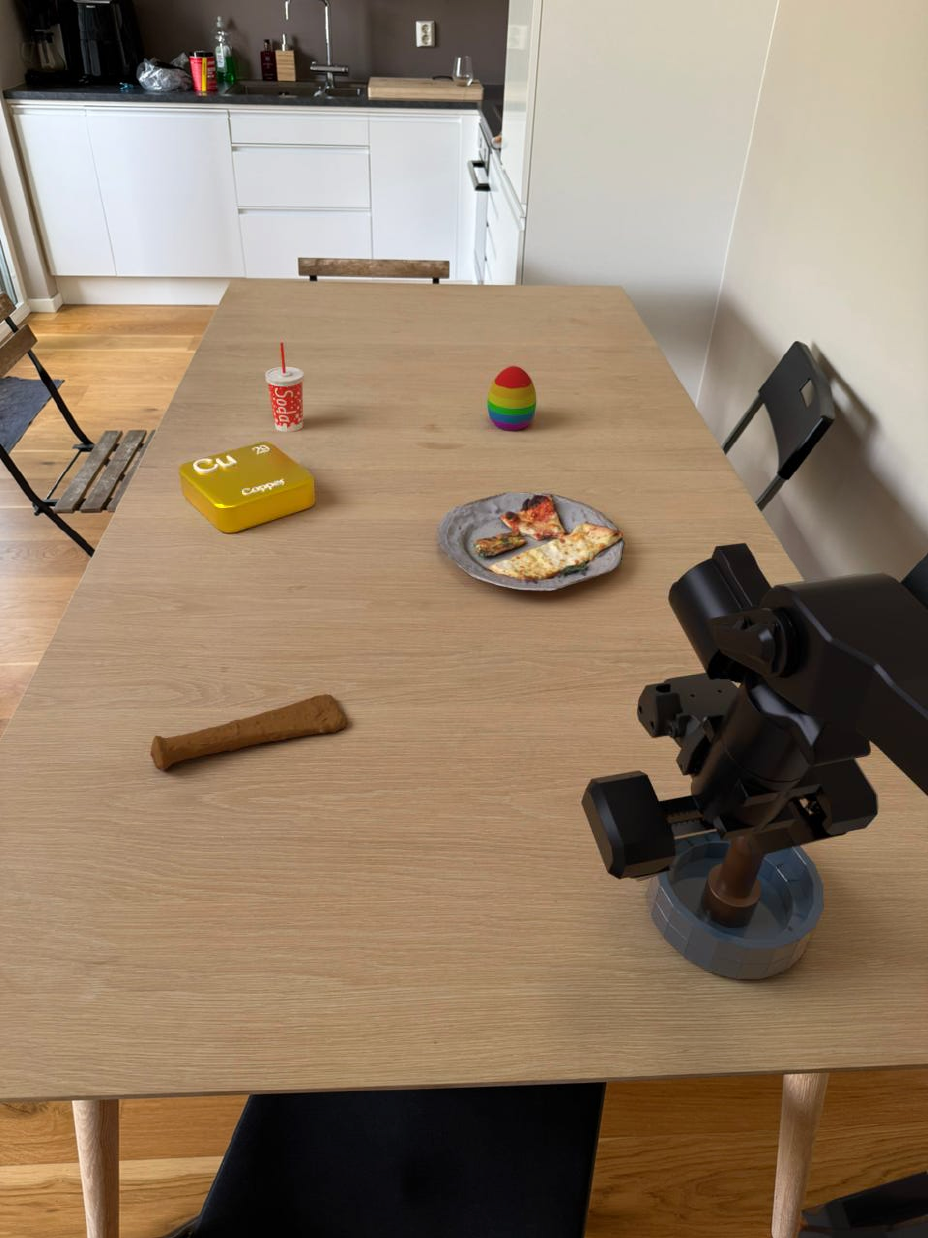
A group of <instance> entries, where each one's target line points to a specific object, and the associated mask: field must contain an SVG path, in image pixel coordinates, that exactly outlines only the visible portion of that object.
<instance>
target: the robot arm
mask: <svg viewBox="0 0 928 1238" xmlns="http://www.w3.org/2000/svg"><path fill="white" fill-rule="evenodd" d="M667 599H668V603H669V606H670V608H671V610H672V611H673V614H674V615H675V617H676V619H677V621H678V624H679V625H680V627H681V629H682V630H683V632H684V634H685V636H686V638H687V640H688V642H689V643H690V645H691V647H692V649H693V651H694V653H695V655H696V656H697V658H698V660H699V662H700V664H701V667H702V668H703V669H704V672H700V673H694V674H688V675H687V674H686V675H681V676H675V677H669V678H666V679H665V680H664V681H663V682H658V683H651V684H646V685H645V686H644V688H643V689H642V692H641V694H640V695H639V697H638V701H637V708H636V716H637V720H638V722H639V723H640V725H641V726H642V727H643V728H644V730H645V731H646V733H647V734H648V735H649V736H650V738H652V739H657V738H658V739H659V738H663V737H669V738H670V739H672V740H673V741H674V742H675V744H676V745H677V746H678V747H679V748H680V750H679V752H678V755H677V756H676V758H675V762H676V764H677V766H678V768H679V770H680V772H681V775H682V776H685V777H686V776H690V778H691V782H690V795H685V796H679V797H675V798H669V799H663V800H660V799H659V797H658V795H657V793H656V791H655V789H654V786H653V784H652V781H651V779H650V777H649V775H648V774H647V773H645V772H643V771H641V770H634V771H628V772H621V773H617V774H610V775H605V776H599V777H594V778H591V779H590V781H589V783H588V784H587V786H586V788H585V790H584V792H583V795H582V799H581V801H580V804H581V807H582V809H583V811H584V814H585V817H586V819H587V823H588V824H589V827H590V830H591V833H592V836H593V838H594V841H595V843H596V846H597V848H598V852H599V854H600V856H601V859H602V862H603V864H604V867H605V871H606V872H607V874H608V875H610V876H612V877H614V878H616V879H617V880H624V879H631V880H634V879H635V881H636V882H637V883H638V882H642V881H646V880H648V879H649V878H652V877H654V876H657V875H660V874H663V873H666V872H669V871H670V867H669V865H670V864H672V862H673V860H674V859H675V857H676V849H675V839H679V838H684V837H689V836H694V835H699V834H704V833H709V832H714V831H717V833H718V835H719V837H720V839H721V840H726V839H731V838H736V837H741V836H746V835H750V838H749V841H748V848H749V850H750V852H751V854H752V856H753V857H758V856H762V855H766V854H769V853H773V852H777V851H781V850H785V849H789V848H792V847H797V846H801V847H802V846H804V845H805V846H806V845H808V844H813V843H817V842H821V841H825V840H828V839H833V838H838V837H841V836H845V835H846V834H848V833H851V832H854V831H855V832H856V831H860V830H864V829H867V828H868V826H869V825H870V824H871V823H872V821H874V819H875V818H876V817H877V816H878V814H879V808H880V805H879V795H878V793H877V791H876V790H875V788H874V787H873V785H872V783H871V781H870V780H869V779H868V777H867V776H866V775H867V774H865V771H864V770H863V768H862V767H861V766H860V764H859V762H858V761H857V759H860V758H866V757H868V756H870V755H871V753H872V748H871V743H872V744H873V745H874V746H875V747H877V748H878V750H879V751H881V752H882V753H883V755H885V756H886V757H887V758H888V759H889V761H890V762H892V763H893V764H894V765H895V766H896V767H897V768H898V769H899V770H900V771H901V773H903V774H904V775H905V776H906V777H907V778H908V779H909V780H910V781H911V782H912V783H913V784H914V785H915V786H916V787H917V788H919V790H920V791H921V792H923V793H924V794H925V795H926V796H927V797H928V609H927V608H926V607H925V606H924V605H923V604H922V603H921V602H920V601H919V600H918V599H917V598H916V597H915V596H914V595H913V594H912V593H911V592H910V591H909V590H908V588H906V587H905V586H904V584H902V582H900V580H898V579H897V578H895V577H893V576H892V575H889V574H887V573H885V572H883V571H869V572H862V573H861V572H860V573H854V574H847V575H840V576H831V577H825V578H816V579H809V580H801V581H794V582H786V583H780V584H774V586H772V585H771V583H770V582H769V580H768V579H767V577H766V576H765V575H764V573H763V572H762V570H761V568H760V567H759V565H758V563H757V561H756V557H755V556H754V554H753V552H752V551H751V549H750V548H749V546H748V544H747V543H746V542H740V543H738V542H737V543H731V544H723V545H716V546H715V547H714V550H713V552H712V554H711V557H710V558H707V559H705V560H702V561H701V562H699V563H697V564H696V565H694V566H693V567H692V568H690V569H688V570H687V571H686V572H685V573H684V574H682V575H681V576H680V577H679V579H678V580H677V581H675V582H673V583H672V584H671V586H670V588H669V591H668V596H667ZM736 684H739V685H738V686H737V685H736ZM703 819H704V820H703ZM692 821H693V822H692ZM686 822H687V823H686ZM680 823H681V824H680ZM675 824H676V826H675ZM800 1213H801V1216H802V1218H803V1220H804V1222H805V1223H806V1224H805V1225H803V1226H802V1227H801V1228H799V1230H798V1235H797V1238H928V1170H923V1171H920V1172H917V1173H913V1174H910V1175H908V1176H904V1177H900V1178H897V1179H894V1180H891V1181H888V1182H885V1183H881V1184H878V1185H875V1186H871V1187H869V1188H866V1189H862V1190H859V1191H855V1192H853V1193H850V1194H846V1195H843V1196H840V1197H837V1198H834V1199H832V1200H830V1201H827V1202H823V1203H820V1204H817V1205H813V1206H810V1207H808V1208H804V1209H801V1211H800Z"/></svg>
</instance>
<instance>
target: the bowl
mask: <svg viewBox="0 0 928 1238" xmlns="http://www.w3.org/2000/svg"><path fill="white" fill-rule="evenodd" d="M703 820H704V819H703ZM692 822H693V821H692ZM686 823H687V822H686ZM680 824H681V823H680ZM675 826H676V824H675ZM731 839H732V838H731ZM731 839H726V840H721V839H720V837H719V835H718V833H717V831H714V832H709V833H704V834H699V835H694V836H689V837H684V838H679V839H675V849H676V857H675V859H674V860H673V862H672V864H670V865H669V867H670V871H669V872H666V873H663V874H660V875H657V876H654V877H652V878H649V879H647V886H646V893H645V895H646V901H647V905H648V909H649V913H650V917H651V919H652V921H653V922H654V924H655V926H656V928H657V929H658V931H659V933H660V934H661V936H662V937H663V938H664V940H665V941H666V942H667V943H668V944H669V945H670V946H671V947H673V949H674V950H676V951H677V952H678V954H679V955H680V956H682V957H683V958H684V959H686V960H688V961H689V962H692V963H693V964H695V965H696V966H699V967H700V968H702V969H704V970H705V971H708V972H710V973H714V974H718V975H721V976H725V977H728V978H731V979H736V980H762V979H767V978H768V977H771V976H774V975H777V974H780V973H783V972H785V971H787V970H788V969H789V968H790V967H792V965H794V964H795V963H796V962H797V961H798V960H800V959H801V958H802V956H803V955H804V952H805V950H806V948H807V947H808V946H807V945H808V944H809V942H810V940H811V938H812V935H813V933H814V931H815V929H816V927H817V925H818V922H819V921H820V917H821V915H822V914H823V913H822V912H823V910H824V908H825V896H824V895H825V894H824V883H823V880H822V878H821V876H820V873H819V870H818V868H817V866H816V864H815V862H814V861H813V859H812V858H811V857H810V856H809V854H808V853H807V852H806V850H805V849H804V848H803V847H802V845H801V846H797V847H792V848H789V849H785V850H781V851H777V852H773V853H769V854H766V855H765V857H764V860H763V862H762V865H761V867H760V870H759V873H758V875H757V879H758V881H759V883H760V885H761V896H760V899H759V901H758V904H757V906H756V909H755V911H754V914H753V916H752V918H751V920H750V921H749V922H748V923H747V924H746V925H744V926H741V927H736V928H731V927H725V926H722V925H720V924H718V923H716V922H714V921H713V920H712V919H711V918H709V916H708V915H707V914H706V913H705V911H704V909H703V907H702V904H701V896H702V892H703V889H704V886H705V883H706V880H707V877H708V874H709V872H710V871H711V869H712V868H713V867H715V866H716V865H718V864H721V863H723V862H724V859H725V856H726V853H727V850H728V847H729V844H730V841H731Z"/></svg>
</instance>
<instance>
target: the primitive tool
mask: <svg viewBox="0 0 928 1238" xmlns="http://www.w3.org/2000/svg"><path fill="white" fill-rule="evenodd" d="M347 726H348V720H347V718H346V717H345V714H344V712H343V710H342V709H341V707H340V706H339V704H338V702H337V701H336V699H335V698H334V696H333V695H331V694H328V693H324V694H319V695H314V696H311V697H309V698H305V699H303V700H301V701H297V702H295V703H292V704H289V705H285V706H281V707H278V708H276V709H272V710H267V711H264V712H261V713H258V714H255V715H252V716H248V717H244V718H242V719H234V720H233V719H232V720H230V721H229V722H227V723H224V724H221V725H217V726H212V727H207V728H202V729H199V730H197V731H193V732H188V733H184V734H179V735H175V736H170V737H169V736H168V737H163V736H161V735H154V737H153V738H152V743H151V746H150V752H149V754H150V757H151V759H152V761H153V764H154V767H155V768H156V769H158V770H159V771H161V772H163V771H166V770H167V769H168V768H169V767H170V766H171V765H172V764H174V763H178V762H181V761H183V760H189V759H194V758H197V757H203V756H206V755H212V754H216V753H221V752H225V751H229V752H234V751H236V750H238V749H240V748H244V747H249V746H253V745H259V744H262V743H263V744H264V743H268V742H269V743H270V742H277V741H279V740H282V741H283V740H287V739H294V738H297V737H304V736H311V735H317V734H318V735H319V734H326V733H328V732H330V733H336V732H337V731H341V730H343V729H344V728H346V727H347Z"/></svg>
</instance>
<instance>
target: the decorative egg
mask: <svg viewBox="0 0 928 1238" xmlns="http://www.w3.org/2000/svg"><path fill="white" fill-rule="evenodd" d="M486 402H487V403H486V404H487V412H488V415H489V419H490V420H491V422H492V423H493V424H494V426H496V427H497V428H498V429H501V430H505V431H520V430H522V429H524V428H526V427H527V426H528V425H529V424H530V422H531V421H532V420H533V418H534V415H535V413H536V408H537V393H536V388H535V385H534V382H533V380H532V378H531V376H530V375H529V374H528V372H526V371H525V370H524V369H523V368H521V367H519V366H517V365H511V366H507V367H505V368H504V369H503V370H501V371H500V372H499V373H498V374H497V375H496V377H495V378H494V379H493V381H492V383H491V385H490V388H489V391H488V395H487V401H486Z"/></svg>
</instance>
